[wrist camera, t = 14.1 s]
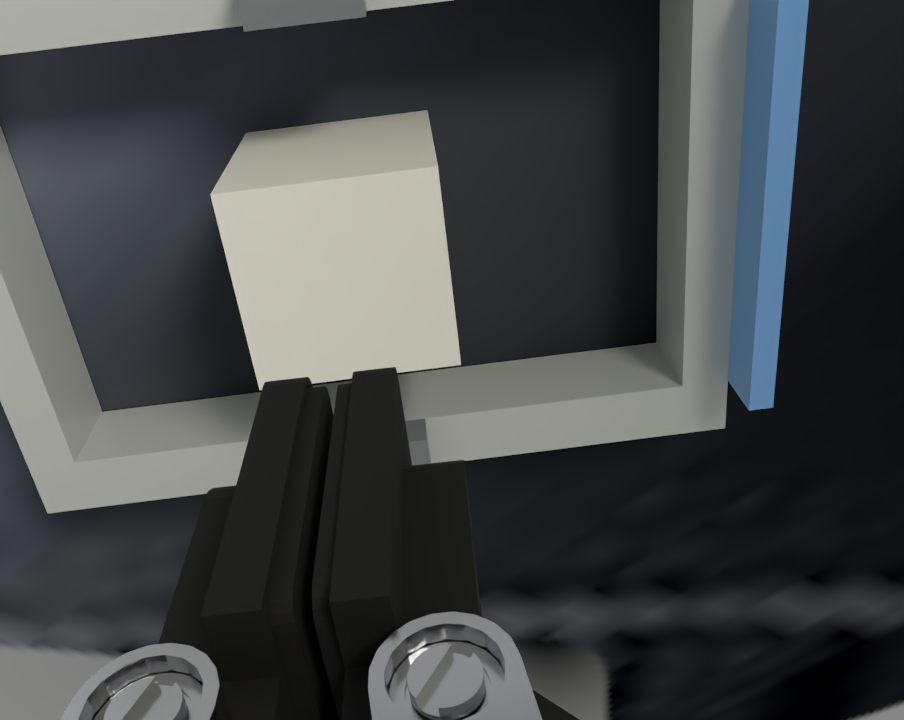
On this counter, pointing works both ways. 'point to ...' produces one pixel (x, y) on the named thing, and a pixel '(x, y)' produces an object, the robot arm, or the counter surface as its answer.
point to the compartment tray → (471, 387)
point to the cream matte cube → (339, 248)
